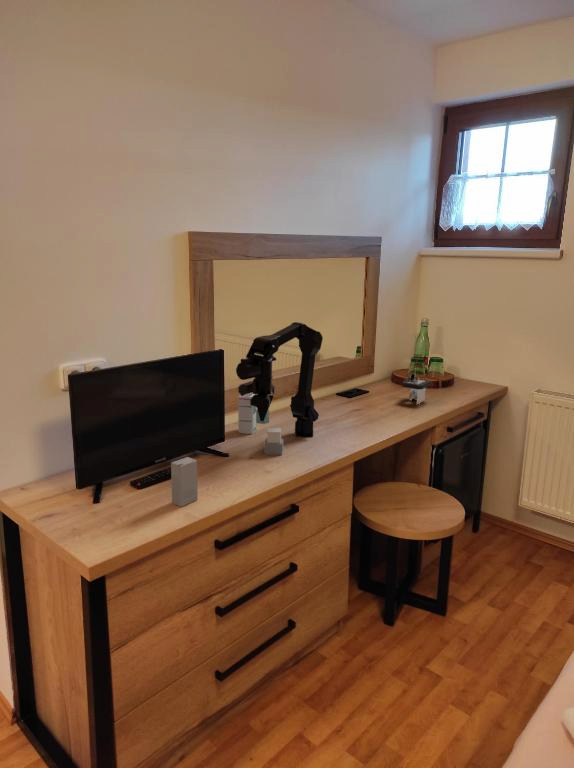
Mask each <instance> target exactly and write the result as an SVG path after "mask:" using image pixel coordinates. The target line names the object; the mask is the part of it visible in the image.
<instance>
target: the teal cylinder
mask: <svg viewBox="0 0 574 768" xmlns="http://www.w3.org/2000/svg"><path fill="white" fill-rule="evenodd" d="M269 423H270V409H268V411H267V414H266V416H265V419H264V421H260V417H259V413H258V409H256V424H260V425H265V424H269Z"/></svg>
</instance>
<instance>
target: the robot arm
mask: <svg viewBox="0 0 574 768" xmlns="http://www.w3.org/2000/svg"><path fill="white" fill-rule="evenodd" d="M293 339H297V340H298V347H299V350H300V352H301V359H300V360H301V361H300V366H299V368H300V369H299V377H298V385H297V392H296V393H295V395H294V396H293V395H292V396H291V399H290V405H289V407H290V411H291V414H292V415H291V416H292V418H295V419H296V420H295V421H294V433H295V436H296V437H308V438H313V437H314V422H316V421H317V420H319V416H320V415H319V412H318V411H317V410H316V408H315V401H314V397H313V396H312V386H313V379H314V371H315V370H314V369H315V362H316V355H317V354H318V353H319V351H320V350H321V348H322V344H323V335H322V332H320V331H319V330H318V331H317V330H315V329H313V328H311V327H309V326H308V325H307V324H305V322H304V323H303V322H298V321H297V322H296V321H295V322H291V324H289V325H288V326H286V327H283V328H281V329H280V330H278V331H276V332H274V333H272V334H270V335H261V336H258V337H257V336H256V337H255V338H254V339H253V340H252V341H253V342H252V344H251V346H250V348H249V350H248V352H247V353H246V354H245V355H246V356H245V358H240V362H239V363H238V364H237V366H236V368H235V373H236V375H237V377H238V378H239V380H241V381H245V380H250V379H253V380H251V381H248V382H244V383H241V384H239V385H238V387H237V390H238V394H239V396H240V395H241V396H244V395H245V394H249V393H253V394H256V395H254V396H253V397H252V398H251V400H250V405H251V406H256V410H258V413H259V417H260V421H264V419H265V416H266V414H267V411H268V410H270V409H269V408H270V407H271V404H272V401H273V398H274V395H275V393H276V386H275V385H274V384H273V362H275V361H277V357H275V356H274V354H276V353H277V352H278V351H279V348H280V347H281V346H283V345H285V344H287V343H288V342H290V341H292V340H293Z"/></svg>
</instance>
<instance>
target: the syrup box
mask: <svg viewBox="0 0 574 768" xmlns="http://www.w3.org/2000/svg"><path fill="white" fill-rule="evenodd" d="M254 395H257V394H253V392H252V393H249V394H245V395H244V396H241V395H240V394H239V395H238V397H237V398H238V399H237V400H238V401H237V403H238V404H237V405H238V409H237V410H238V417H237V418H238V419H237V420H238V423H237V424H238V433H239V434H247V435H253V434H254V433H255V432H256V431H257V422H256V411H257V407H256V406H251V405H250V400H251V398H252V397H253V396H254Z"/></svg>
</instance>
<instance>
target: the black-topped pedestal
mask: <svg viewBox="0 0 574 768" xmlns="http://www.w3.org/2000/svg"><path fill="white" fill-rule="evenodd" d="M431 385H432V381H431V380H427V379H422V378H420V377H416V372H414V373H412V374H409V375H407V378H406V379H405V380H404V381H402V387H403V388H408V389H409V390H410V393H409V400H411V401H412V399H417V400H416V405H417V404H418V403H420V402H422V401H423V400H424V401H425V398H426V388H427V387H430V386H431Z"/></svg>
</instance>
